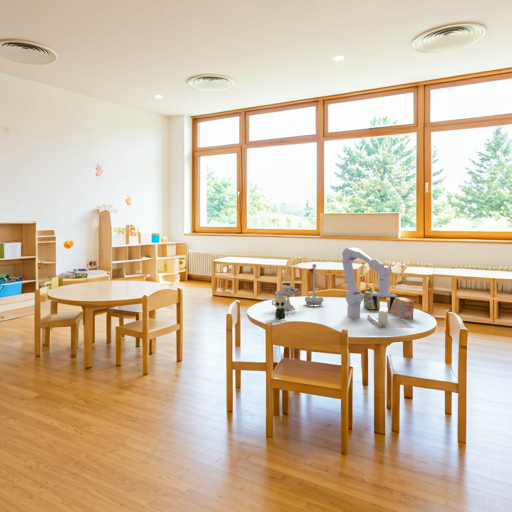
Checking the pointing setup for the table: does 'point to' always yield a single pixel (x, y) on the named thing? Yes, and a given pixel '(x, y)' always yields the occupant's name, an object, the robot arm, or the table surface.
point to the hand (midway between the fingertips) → (383, 309)
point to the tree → (288, 294)
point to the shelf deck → (396, 323)
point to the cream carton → (383, 316)
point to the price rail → (374, 321)
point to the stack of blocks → (401, 307)
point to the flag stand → (313, 300)
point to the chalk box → (370, 300)
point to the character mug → (280, 306)
